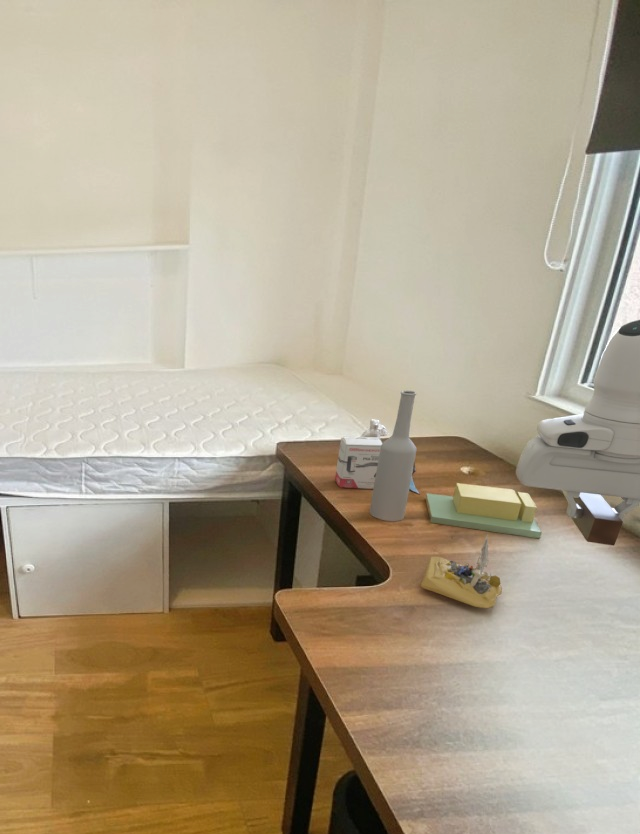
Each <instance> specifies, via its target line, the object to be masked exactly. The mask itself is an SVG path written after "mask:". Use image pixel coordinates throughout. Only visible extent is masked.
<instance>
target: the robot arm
mask: <svg viewBox="0 0 640 834" xmlns="http://www.w3.org/2000/svg"><path fill="white" fill-rule="evenodd" d="M536 431H537V433H538V434H537V435H536V436H534V437H533V438H531V439H530V440H529V441H528V442H527V443H526V444H525V446H524V449H523V451H521V455H520V457H519V460H518V462H517V465H516V469H515V476H516V478H517V479H518V481H519V482H520V483H521V484H522V485H523V486H524V487H530V488H540V489H548V490H558V491H561V490H563V492H562V493H564V494H563V496H564V498H565V499H566V501H567V504H568V505H567V508H566V516H567V517H568V518H571V517H574V518H582V516H583V515H582V514H583V513H584V510H585V509H584V508H583V507H582V505H581V504H576V503H575V501H574V498H579V495H580V492H581V493H590V494H599V495H601V496H610V497H615V498H616V497H618V498H621V499H622V501H621V502H620V503H619V504H617V505H616V506H615V507H611V508H612V509H613V510H614V512H615V513H616V514H617V515H618V516H619V518H620V519H621V520H622V521H623V519H624V517H625V515H627V514H628V513H630V512H631V511H633V510H635V509H636V508H638V507H639V506H640V319H637V320H633V321H629V322H628V323H625V324H622V325H621V326H620V327H618V329H617V330H616V331H615V332H614V333H613V334H612V336H611V337H610V338H609V340H608V342H607V344H606V345H605V349H604V351H603V352H602V354H601V357H600V360H599V364H598V365H597V369H596V372H595V374H594V379H593V394H592V397H591V399H590V400H589V401H588V402H587V404H586V405H585V407H584V411H583V413H578V414H574V415H567V416H562V417H555V418H547V419H543V420H540V421H539V422H538V424H537V427H536ZM573 497H574V498H573Z"/></svg>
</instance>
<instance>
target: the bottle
mask: <svg viewBox="0 0 640 834" xmlns="http://www.w3.org/2000/svg"><path fill="white" fill-rule="evenodd" d="M417 395H418V393H417V392H416V391H413V390H401V391H400V399H399V405H398V410H397V416H396V419H395V424H394V428H393V430H392V431H393V432H392V435H391V436H390V437H388V438H387V439H386V440H384V441H383V443H382V445H381V449H380V455H379V460H378V466H377V471H376V477H375V482H374V488H373V489H372V495H371V500H370V506H369V514H370V515H371V516H373V518H376V519H379V520H382V521H384V522H385V521H386V522H400V521H402V520H404V518H405V515H406V509H407V504H408V499H409V493H410V489H409V488H410V483H411V477H412V478H413V473H414V472H413V466H414V462H415V459H416V454H417V447H416V444H414V441H412V439H411V438H410V430H411V420H412V414H413V409H414V404H415V397H416V396H417ZM412 472H413V473H412Z"/></svg>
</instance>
